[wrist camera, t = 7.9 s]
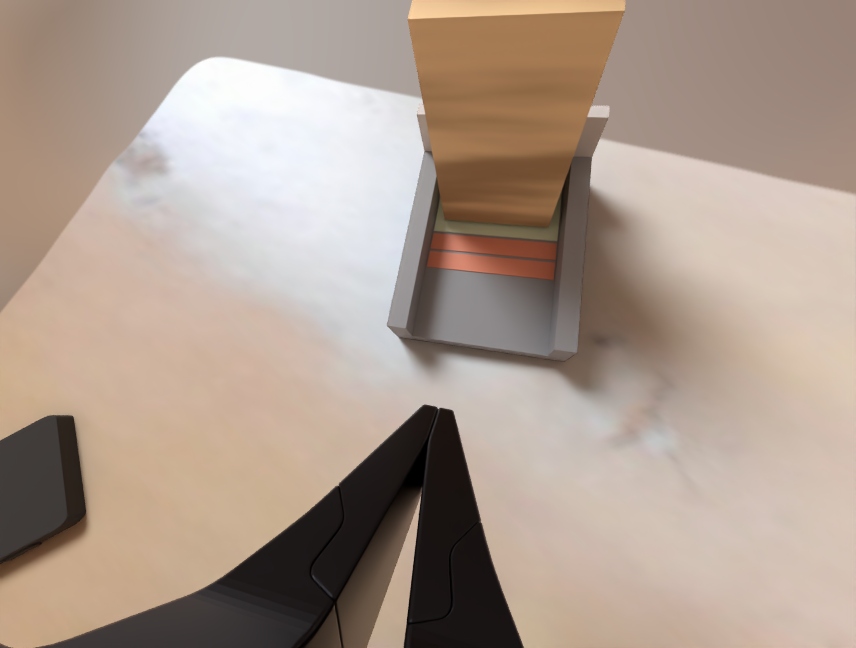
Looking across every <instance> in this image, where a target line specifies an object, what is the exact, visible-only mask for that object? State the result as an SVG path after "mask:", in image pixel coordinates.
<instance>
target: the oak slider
mask: <svg viewBox="0 0 856 648" xmlns="http://www.w3.org/2000/svg"><path fill="white" fill-rule="evenodd" d="M624 11H625V0H413V1H412V4H411V8H410V12H409V16H408V23H409V29H410V34H411V39H412V45H413V51H414V55H415V61H416V67H417V72H418V77H419V83H420V88H421V93H422V99H423V105H424V110H425V116H426V121H427V127H428V132H429V137H430V143H431V148H432V154H433V159H434V165H435V170H436V175H437V181H438V186H439V192H440V197H441V203H442V208H443V213H444V219H446V220H459V221H472V222H485V223H498V224H511V225H524V226H538V227H549V224H550V222H551V219H552V216H553V213H554V210H555V207H556V205H557V202H558V199H559V196H560V193H561V190H562V187H563V185H564V182H565V179H566V176H567V173H568V170H569V168H570V165H571V162H572V159H573V156H574V153H575V151H576V148H577V145H578V142H579V139H580V136H581V133H582V131H583V128H584V125H585V122H586V119H587V116H588V114H589V111H590V108H591V105H592V102H593V99H594V97H595V94H596V90H597V88H598V85H599V82H600V79H601V77H602V74H603V70H604V68H605V65H606V62H607V59H608V57H609V54H610V51H611V48H612V45H613V42H614V40H615V37H616V34H617V31H618V28H619V25H620V22H621V20H622V17H623V14H624Z"/></svg>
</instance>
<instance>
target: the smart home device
mask: <svg viewBox="0 0 856 648" xmlns="http://www.w3.org/2000/svg"><path fill="white" fill-rule="evenodd" d="M85 513H86V507H85V499H84V492H83V484H82V477H81V469H80V462H79V454H78V447H77V439H76V432H75V424H74V417H73V416H68V415H51V416H47V417H44V418H42V419H40V420H38V421H36V422H34V423H32V424H31V425H29V426H27V427H25V428H23V429H21V430H19V431H17V432H15V433H14V434H12V435H10V436H8V437H6V438H4V439H2V440H0V564H1V563H3V562H6V561H9V560H12V559H14V558H15V557H17V556H19V555H21V554H23V553H25V552H27V551H29V550H31V549H32V548H34V547H36V546H38V545H40V544H42V543H41V542H43V541H44V540H46V539H48V538H50V537H52V536H54V535H56V534H58V533H60V532H61V531H63V530H65V529H67V528H69V527H71V526H73V525H74V524H76V523H77V522H78V521H80V520H81V519H82V518H83V517H84V515H85Z"/></svg>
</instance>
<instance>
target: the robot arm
mask: <svg viewBox="0 0 856 648" xmlns="http://www.w3.org/2000/svg"><path fill="white" fill-rule="evenodd" d="M421 493H422V494H421ZM420 496H421V503H420V511H419V520H418V529H417V537H416V546H415V555H414V563H413V572H412V581H411V590H410V598H409V607H408V616H407V625H406V633H405V641H404V648H524V646H523V644H522V641H521V639H520V636H519V633H518V631H517V628H516V625H515V623H514V620H513V617H512V615H511V612H510V610H509V607H508V604H507V602H506V599H505V596H504V594H503V591H502V588H501V585H500V582H499V580H498V577H497V574H496V571H495V568H494V565H493V562H492V558H491V555H490V551H489V548H488V545H487V541H486V537H485V533H484V529H483V525H482V523H481V518H480V514H479V510H478V506H477V502H476V498H475V494H474V490H473V486H472V482H471V479H470V475H469V471H468V467H467V463H466V459H465V455H464V451H463V447H462V443H461V439H460V435H459V431H458V427H457V423H456V419H455V415H454V412H453V411H452V410H449V409H445V408H439V409H438V408H437V407H435V406H430V405H423V406H422V407H420V408H419V409H418V410H417V411H416V412H415V413H414V414H413V415H412V416H411V417H410V418H409V419H408V420H407V421H405V422H404V423H403V424H402V425H401V426H400V427H399V428H398V429H397V430H396V431H395V432H394V433H393V434H392V435H390V436H389V437H388V438H387V439H386V440H385V441H384V442H383V443H382V444H381V445H380V446H379V447H378V448H377V449H375V450H374V451H373V452H372V453H371V454H370V455H369V456H368V457H367V458H366V459H365V460H364V461H363V462H362V463H360V464H359V465H358V466H357V467H356V468H355V469H354V470H353V471H352V472H351V473H350V474H349V475H348V476H347V477H345V478H344V479H343V480H342V481H341V482H340V483H339V486H336V487H335V488H333V489H332V490H331V491H330V492H329V493H328V494H327V495H326V496H325V497H324V498H323V499H322V500H320V501H319V502H318V503H317V504H316V505H315V506H314V507H313V508H311V509H310V510H309V511H308V512H307V513H306V514H304V515H303V516H302V517H300V518H299V519H298V520H297V521H295V522H294V523H293V524H292V525H290V526H289V527H288V528H287V529H285V530H284V531H283V532H281V533H280V534H279V535H277V536H276V537H275V538H273V539H272V540H271V541H270V542H268V543H267V544H266V545H264V546H263V547H262V548H260V549H259V550H258V551H256V552H255V553H254V554H252V555H251V556H250V557H248V558H247V559H246V560H245V561H243V562H242V563H241V564H239V565H238V566H237V567H235V568H234V569H233V570H231V571H230V572H229V573H227V574H226V575H224V576H223V577H221V578H220V579H218V580H217V581H215V582H213V583H212V584H210V585H208V586H206V587H205V588H203V589H201V590H199V591H196V592H194V593H192V594H190V595H187V596H185V597H182V598H179V599H176V600H174V601H171V602H168V603H166V604H163V605H160V606H157V607H155V608H152V609H149V610H147V611H144V612H141V613H138V614H136V615H133V616H130V617H128V618H125V619H122V620H119V621H117V622H114V623H111V624H109V625H106V626H103V627H100V628H98V629H95V630H92V631H90V632H87V633H84V634H81V635H79V636H76V637H73V638H71V639H67V640H64V641H61V642H58V643H55V644H51V645H46V646H41V647H36V648H367V645H368V642H369V639H370V637H371V634H372V631H373V628H374V625H375V622H376V620H377V617H378V614H379V611H380V608H381V606H382V603H383V600H384V597H385V594H386V592H387V589H388V586H389V583H390V580H391V578H392V575H393V572H394V569H395V566H396V564H397V561H398V558H399V555H400V552H401V549H402V547H403V544H404V541H405V538H406V535H407V533H408V530H409V527H410V524H411V521H412V519H413V516H414V513H415V510H416V507H417V505H418V502H419V499H420ZM0 648H11V647H8V646H5V645H3V644H0Z"/></svg>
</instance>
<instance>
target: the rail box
mask: <svg viewBox="0 0 856 648" xmlns="http://www.w3.org/2000/svg"><path fill="white" fill-rule="evenodd" d="M417 118H418V122H419V127H420V132H421V136H422V141H423V146H424V156H423V161H422V165H421V170H420V174H419V179H418V184H417V188H416V193H415V198H414V202H413V207H412V211H411V216H410V221H409V225H408V230H407V234H406V239H405V244H404V248H403V253H402V258H401V262H400V267H399V271H398V276H397V281H396V285H395V290H394V295H393V299H392V304H391V308H390V313H389V318H388V322H387V326H388V327H389V328H390V329H391V330H392V331H393V332H394V333H395V334H396V335H397V336H398V337H402V338H409V339H415V340H422V341H429V342H436V343H443V344H449V345H456V346H463V347H470V348H476V349H483V350H490V351H497V352H504V353H510V354H517V355H524V356H531V357H537V358H544V359H551V360H558V361H566V360H567V359H569V358H570V357H572V356H573V355H575V354H576V353H577V348H578V335H579V322H580V308H581V295H582V282H583V268H584V255H585V242H586V228H587V215H588V201H589V188H590V175H591V161H592V156H593V153H594V151H595V149H596V146H597V144H598V141H599V139H600V137H601V134H602V132H603V130H604V127H605V125H606V122H607V120H608V118H609V106H591V108H590V111H589V114H588V116H587V119H586V122H585V125H584V128H583V131H582V133H581V136H580V139H579V142H578V145H577V148H576V151H575V153H574V156H573V159H572V162H571V165H570V168H569V170H568V173H567V176H566V179H565V182H564V185H563V187H562V190H561V193H560V196H559V199H558V202H557V205H556V207H555V210H554V213H553V216H552V219H551V222H550V224H549V227H538V226H524V225H511V224H498V223H485V222H472V221H459V220H446V219H444V213H443V208H442V203H441V197H440V192H439V186H438V181H437V175H436V170H435V165H434V159H433V154H432V148H431V143H430V137H429V132H428V127H427V121H426V116H425V110H424V105H423V104H419V107H418V111H417Z"/></svg>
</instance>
